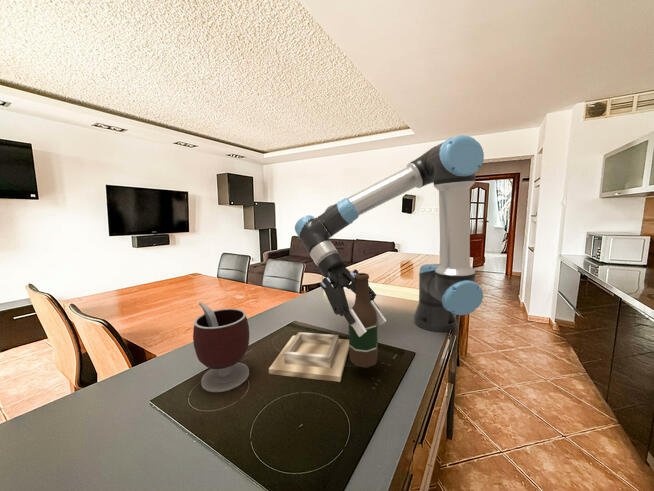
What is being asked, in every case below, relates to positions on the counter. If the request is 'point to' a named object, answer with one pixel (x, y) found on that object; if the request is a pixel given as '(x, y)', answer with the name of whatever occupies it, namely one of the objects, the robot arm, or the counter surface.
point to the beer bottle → (365, 345)
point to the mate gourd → (221, 347)
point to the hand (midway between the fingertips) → (373, 328)
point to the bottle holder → (312, 357)
